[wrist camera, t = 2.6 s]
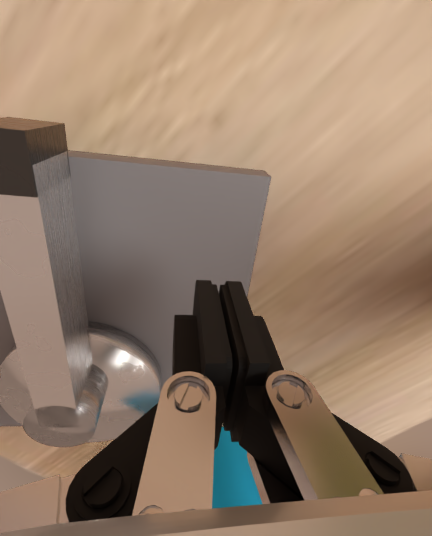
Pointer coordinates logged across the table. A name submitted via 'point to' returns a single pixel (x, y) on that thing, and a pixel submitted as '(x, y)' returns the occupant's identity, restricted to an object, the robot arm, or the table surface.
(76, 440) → the lever
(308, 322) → the table surface
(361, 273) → the table surface
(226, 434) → the mug
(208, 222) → the stand base
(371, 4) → the table surface
